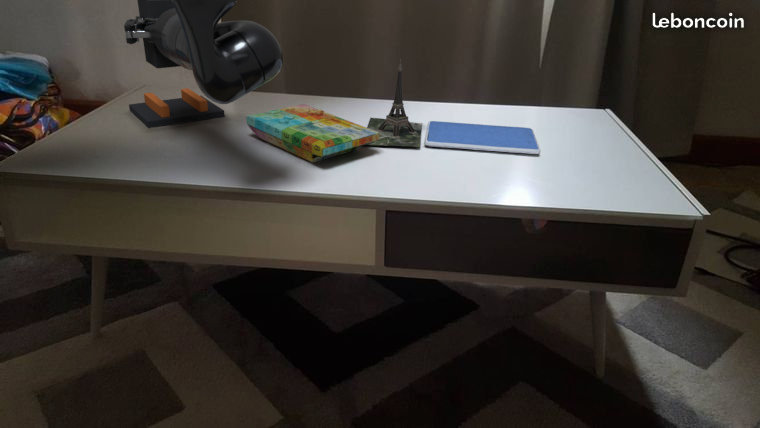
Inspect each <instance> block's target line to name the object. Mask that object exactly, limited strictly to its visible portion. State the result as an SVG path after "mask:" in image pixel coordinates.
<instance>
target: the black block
mask: <svg viewBox="0 0 760 428" xmlns="http://www.w3.org/2000/svg"><path fill="white" fill-rule="evenodd" d="M137 6H138V13H139V15H138V16H141V17H143V18H151V17H155V18H159V17H160V15H161V14H163V13H164V12H165V11H167V10H170V9H173V8H175V7H174V5H173V3H172V1H171V0H137ZM142 42H143V49H144V56H145V62H146V63H148V64H149V65H151V66H153V67H154V68H155V69H168V68H177V67H181V66H180V65H178V64H177V63H175V62H173V61H172V60H170V59H168V58H167V57H165V56H164V55H163V54H162V53H161V52H160V51H159V50H158V48H157V47H156V45H155V43H152V42H148V41H147V40H146V39H145V38H142Z"/></svg>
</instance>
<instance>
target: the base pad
mask: <svg viewBox="0 0 760 428" xmlns="http://www.w3.org/2000/svg"><path fill="white" fill-rule="evenodd" d="M180 94H181V97H178V98H171V99H170V98H169V99H161V98H160V97H158V96H157V95H156V94H155V93H153V92H145V93H143V97H144V102H138V103H129V104H128V108H129V111H130V112H131V113H132V114H133V115H134V116H135V117H136V118H137V119H138V120H140V121H141V122H142V124H144V125H145V126H146V127H147V128H148V129H151V128H157V127H164V126H171V125H177V124H178V125H179V124H184V123H190V122H198V121H204V120H211V119H217V118H225V117H226V115H225V114H226V113H225V110H224V109H223V108H221V107H220V106H218V105H216V104H215V103H214V102H213V101H211V100H210V99H207V97H204V96H203V95H199V94H198V93H196V92H194V91H193V90H191V89H190V88H187V87H186V88H180Z"/></svg>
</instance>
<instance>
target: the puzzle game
mask: <svg viewBox="0 0 760 428" xmlns="http://www.w3.org/2000/svg"><path fill="white" fill-rule="evenodd" d="M245 118H246V119H245V121H246V122H245V123H246V126H248V128H249V129H250V130H251V131H252V132H253V133H254V135H255V136H256V137H257V138H259V139H260V140H262V141H265V142H267V143H268V144H271V145H273V146H276V147H277V148H280V149H282V150H285V151H286V152H289V153H290V154H293V155H295V156H297V157H300V158H301V159H304V160H306V161H308V162H310V163H316V162H320V161H323V160H327V159H330V158H334V157H336V156H340V155H344V154H347V153H351V152H354V151H356V150H357V149H358V148H359V147H360V146H363V144H367V143H370V142H374V141H377V140H379V137H380V133H379V132H376V131H373V130H371V129H368V128H367V126H362V125H360V124H358V123H356V122H355V123H354V122H352V121H350V120H348V119H345V118H342V117H339V116H337V115H334V114H332V113H329V112H326V111H324V110H323V109H318V108H317V107H314V106H311V105H308V104H305V103H302V104H298V105H293V106H289V107H283V108H278V109H274V110H268V111H265V112H264V111H263V112H259V113H255V114H250V115H246V116H245Z"/></svg>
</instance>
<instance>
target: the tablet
mask: <svg viewBox="0 0 760 428" xmlns="http://www.w3.org/2000/svg"><path fill="white" fill-rule="evenodd" d="M423 145H424V146H426V147H431V148H432V147H433V148H434V147H435V148H446V149H447V148H448V149H461V150H474V151H488V152H489V151H490V152H503V153H516V154H517V153H518V154H531V155H539V154H541V148H540V145H539V143H538V139H537V137H536V133H535V132H534V129H532V128H530V127H523V126H522V127H521V126H508V125H507V126H505V125H494V124H493V125H492V124H481V123H464V122H454V121H453V122H452V121H451V122H450V121H439V120H429V121H428V122H427V126H426V132H425V137H424V143H423Z"/></svg>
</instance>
